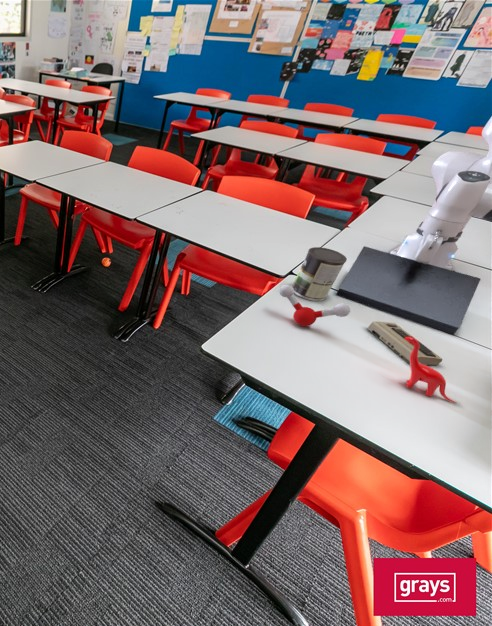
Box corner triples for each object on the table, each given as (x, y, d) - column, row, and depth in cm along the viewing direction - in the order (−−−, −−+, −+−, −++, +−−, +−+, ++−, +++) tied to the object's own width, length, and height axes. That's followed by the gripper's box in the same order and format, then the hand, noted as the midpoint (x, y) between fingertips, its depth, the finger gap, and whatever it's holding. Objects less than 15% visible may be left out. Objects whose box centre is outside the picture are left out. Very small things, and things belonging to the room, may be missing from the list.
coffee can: (286, 292, 138) (304, 253, 130) (296, 281, 144) (314, 244, 136) (321, 305, 132) (342, 265, 124) (330, 293, 138) (350, 255, 130)
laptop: (349, 273, 150) (351, 268, 149) (457, 307, 134) (461, 302, 133) (335, 294, 138) (338, 289, 136) (453, 334, 121) (457, 329, 120)
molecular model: (337, 333, 119) (354, 304, 114) (332, 341, 116) (349, 312, 110) (272, 308, 129) (284, 280, 124) (266, 315, 126) (279, 286, 120)
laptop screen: (362, 247, 143) (363, 246, 142) (479, 280, 127) (481, 278, 126) (338, 290, 136) (339, 288, 136) (457, 330, 120) (459, 328, 119)
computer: (439, 365, 109) (447, 355, 107) (410, 365, 109) (418, 356, 107) (392, 329, 122) (398, 320, 120) (366, 329, 122) (372, 320, 120)
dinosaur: (456, 408, 97) (492, 368, 90) (378, 378, 104) (405, 339, 97) (455, 399, 99) (490, 359, 92) (379, 370, 107) (406, 331, 100)
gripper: (452, 239, 121) (424, 280, 129) (455, 221, 133) (430, 260, 141) (425, 232, 124) (399, 273, 132) (430, 215, 137) (407, 253, 145)
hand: (415, 266), depth 137 cm, fingers closed
